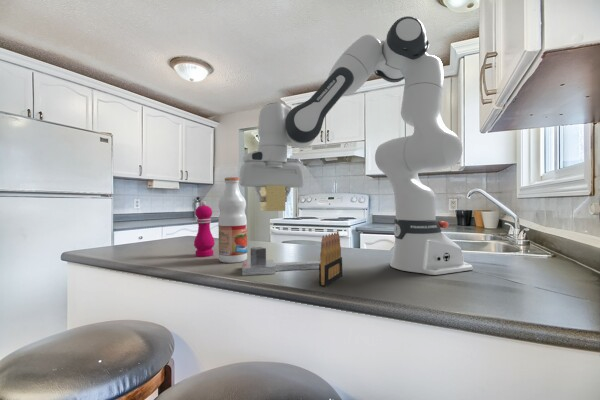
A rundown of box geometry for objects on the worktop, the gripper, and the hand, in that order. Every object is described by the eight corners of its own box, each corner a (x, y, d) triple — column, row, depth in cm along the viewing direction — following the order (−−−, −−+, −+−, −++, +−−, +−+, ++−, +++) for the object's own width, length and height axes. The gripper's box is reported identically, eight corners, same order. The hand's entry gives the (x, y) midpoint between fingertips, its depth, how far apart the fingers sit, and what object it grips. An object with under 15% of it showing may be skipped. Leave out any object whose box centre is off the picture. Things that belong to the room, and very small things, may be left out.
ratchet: (328, 263, 94) (327, 242, 94) (336, 270, 85) (336, 247, 85) (243, 267, 90) (242, 246, 90) (242, 275, 81) (241, 251, 81)
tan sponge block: (278, 210, 95) (278, 186, 95) (285, 210, 90) (285, 186, 90) (260, 210, 93) (260, 186, 93) (266, 211, 87) (266, 185, 87)
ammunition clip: (325, 286, 70) (325, 236, 70) (318, 285, 71) (318, 235, 71) (342, 275, 79) (342, 231, 79) (336, 275, 80) (335, 231, 80)
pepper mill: (197, 258, 105) (196, 201, 104) (191, 255, 110) (190, 201, 110) (217, 255, 109) (216, 201, 109) (210, 252, 115) (209, 200, 114)
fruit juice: (224, 257, 106) (223, 178, 105) (250, 257, 105) (249, 178, 105) (214, 263, 96) (213, 177, 96) (243, 263, 96) (242, 176, 95)
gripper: (299, 160, 98) (299, 201, 98) (237, 156, 90) (237, 202, 90) (307, 157, 93) (307, 202, 93) (242, 153, 84) (242, 202, 84)
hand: (272, 202), depth 91 cm, fingers closed on tan sponge block, 6 cm apart
